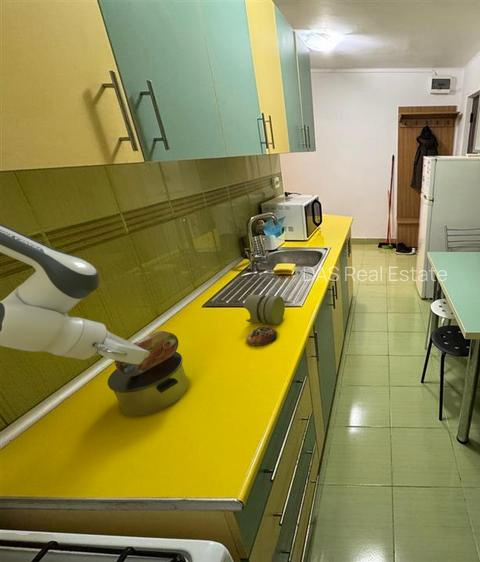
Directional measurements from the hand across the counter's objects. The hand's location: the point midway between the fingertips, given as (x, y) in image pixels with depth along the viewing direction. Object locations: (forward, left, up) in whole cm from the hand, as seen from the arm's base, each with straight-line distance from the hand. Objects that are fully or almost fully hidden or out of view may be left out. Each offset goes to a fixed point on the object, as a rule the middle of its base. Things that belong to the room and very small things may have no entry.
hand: (143, 351), depth 82 cm
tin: (0, +1, -5) cm, 6 cm away
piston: (-3, +44, -15) cm, 47 cm away
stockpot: (0, -1, -15) cm, 15 cm away
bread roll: (+5, +34, -15) cm, 38 cm away
